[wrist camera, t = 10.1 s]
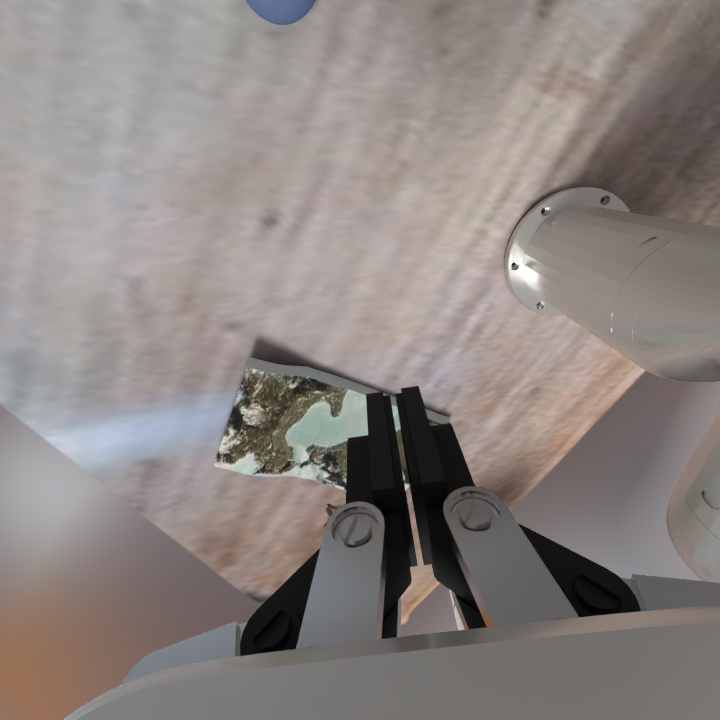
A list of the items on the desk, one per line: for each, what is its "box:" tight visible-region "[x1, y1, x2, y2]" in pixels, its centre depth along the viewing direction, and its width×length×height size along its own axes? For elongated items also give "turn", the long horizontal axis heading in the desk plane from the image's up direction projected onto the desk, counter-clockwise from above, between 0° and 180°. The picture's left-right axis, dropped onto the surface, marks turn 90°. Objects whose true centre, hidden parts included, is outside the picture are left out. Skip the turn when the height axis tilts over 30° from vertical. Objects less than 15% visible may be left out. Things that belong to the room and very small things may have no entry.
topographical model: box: [214, 357, 450, 491], centre depth 47 cm, size 26×15×5 cm, turn 67°
